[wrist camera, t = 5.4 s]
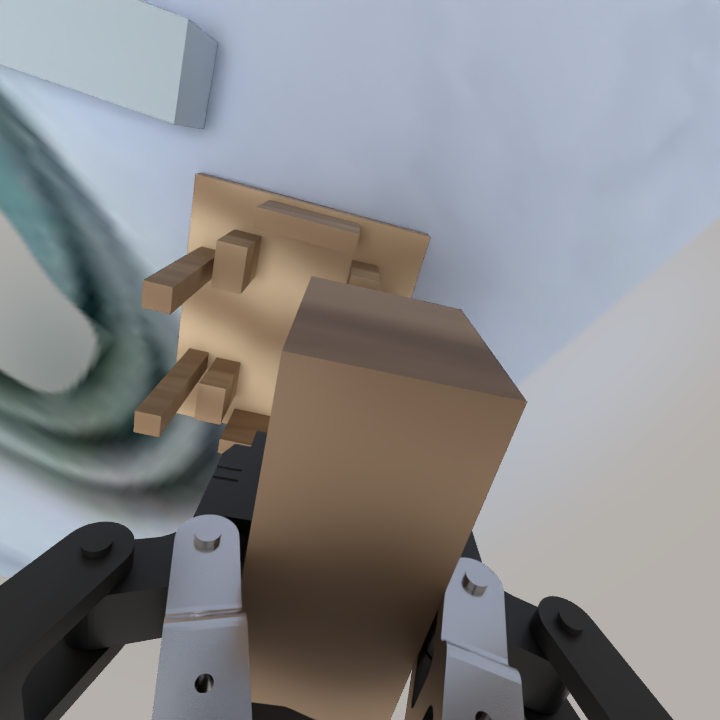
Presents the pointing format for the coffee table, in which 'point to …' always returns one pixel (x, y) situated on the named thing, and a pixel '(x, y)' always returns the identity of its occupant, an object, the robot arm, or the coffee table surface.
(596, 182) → the coffee table surface
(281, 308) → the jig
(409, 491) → the tan wooden beam
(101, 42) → the gray rectangular block
